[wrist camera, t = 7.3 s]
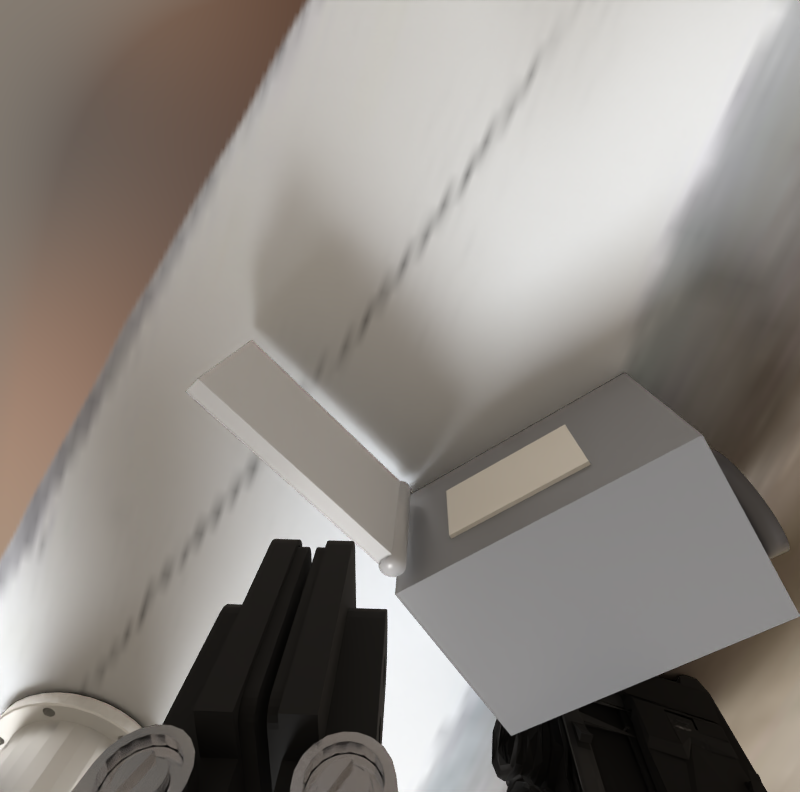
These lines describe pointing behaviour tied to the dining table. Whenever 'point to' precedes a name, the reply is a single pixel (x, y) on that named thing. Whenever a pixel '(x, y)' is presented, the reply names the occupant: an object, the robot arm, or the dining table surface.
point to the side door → (310, 452)
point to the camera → (629, 746)
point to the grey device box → (590, 557)
